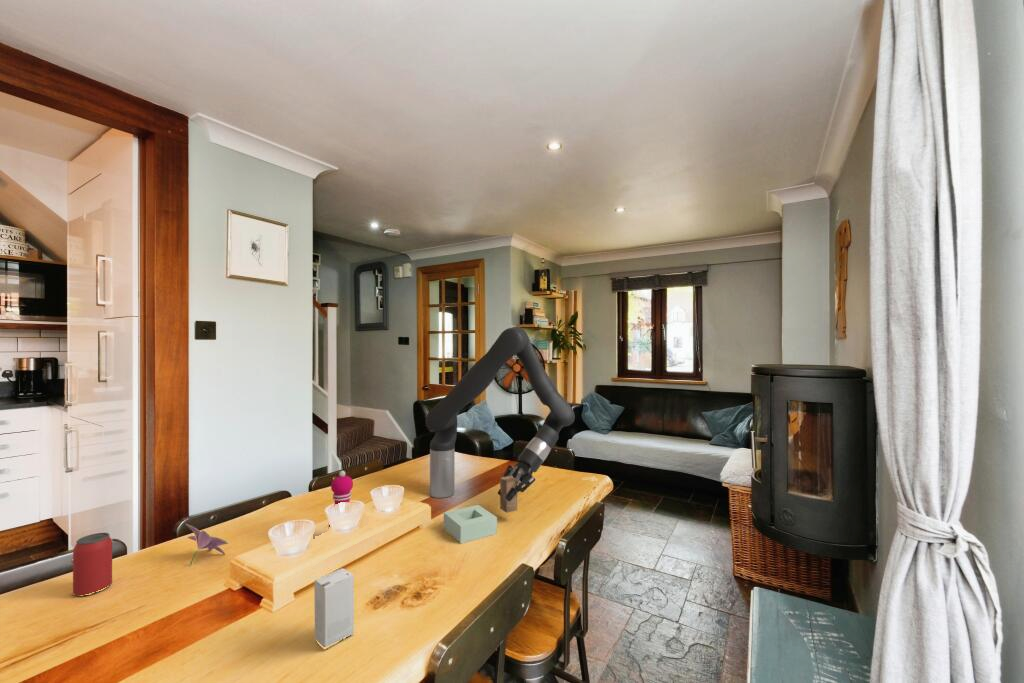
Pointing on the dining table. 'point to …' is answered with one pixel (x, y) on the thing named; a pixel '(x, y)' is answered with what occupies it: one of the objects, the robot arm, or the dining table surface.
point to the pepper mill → (342, 488)
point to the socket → (470, 523)
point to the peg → (505, 487)
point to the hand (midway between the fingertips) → (503, 497)
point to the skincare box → (334, 607)
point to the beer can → (92, 563)
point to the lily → (205, 541)
